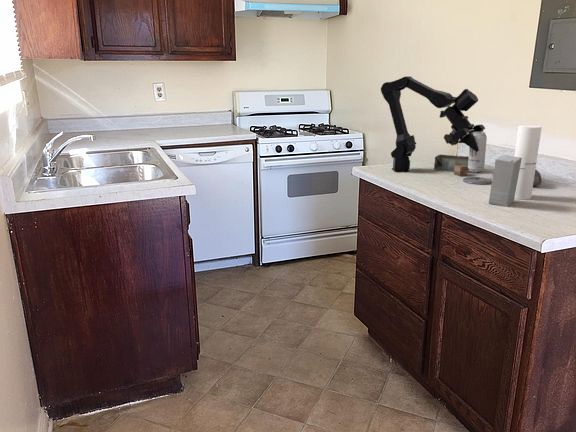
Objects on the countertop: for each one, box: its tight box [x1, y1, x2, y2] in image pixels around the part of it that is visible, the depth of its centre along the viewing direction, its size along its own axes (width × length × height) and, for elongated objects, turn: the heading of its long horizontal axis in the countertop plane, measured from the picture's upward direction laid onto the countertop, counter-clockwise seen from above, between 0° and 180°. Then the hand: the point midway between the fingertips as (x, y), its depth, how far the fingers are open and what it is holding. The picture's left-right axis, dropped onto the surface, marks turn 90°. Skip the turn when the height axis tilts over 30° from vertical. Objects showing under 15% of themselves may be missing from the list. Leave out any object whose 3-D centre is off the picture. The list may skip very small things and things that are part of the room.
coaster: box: [462, 176, 492, 186], centre depth 195 cm, size 11×11×1 cm
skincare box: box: [488, 154, 522, 207], centre depth 163 cm, size 8×7×16 cm
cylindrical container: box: [513, 124, 542, 201], centre depth 169 cm, size 7×7×25 cm
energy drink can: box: [468, 131, 488, 173], centre depth 189 cm, size 6×6×15 cm
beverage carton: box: [433, 154, 479, 174], centre depth 216 cm, size 8×19×7 cm, turn 59°
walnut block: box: [453, 165, 469, 177], centre depth 206 cm, size 4×4×4 cm
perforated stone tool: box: [533, 168, 542, 187], centre depth 189 cm, size 15×5×7 cm, turn 2°
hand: (481, 150), depth 188 cm, fingers closed on energy drink can, 6 cm apart
